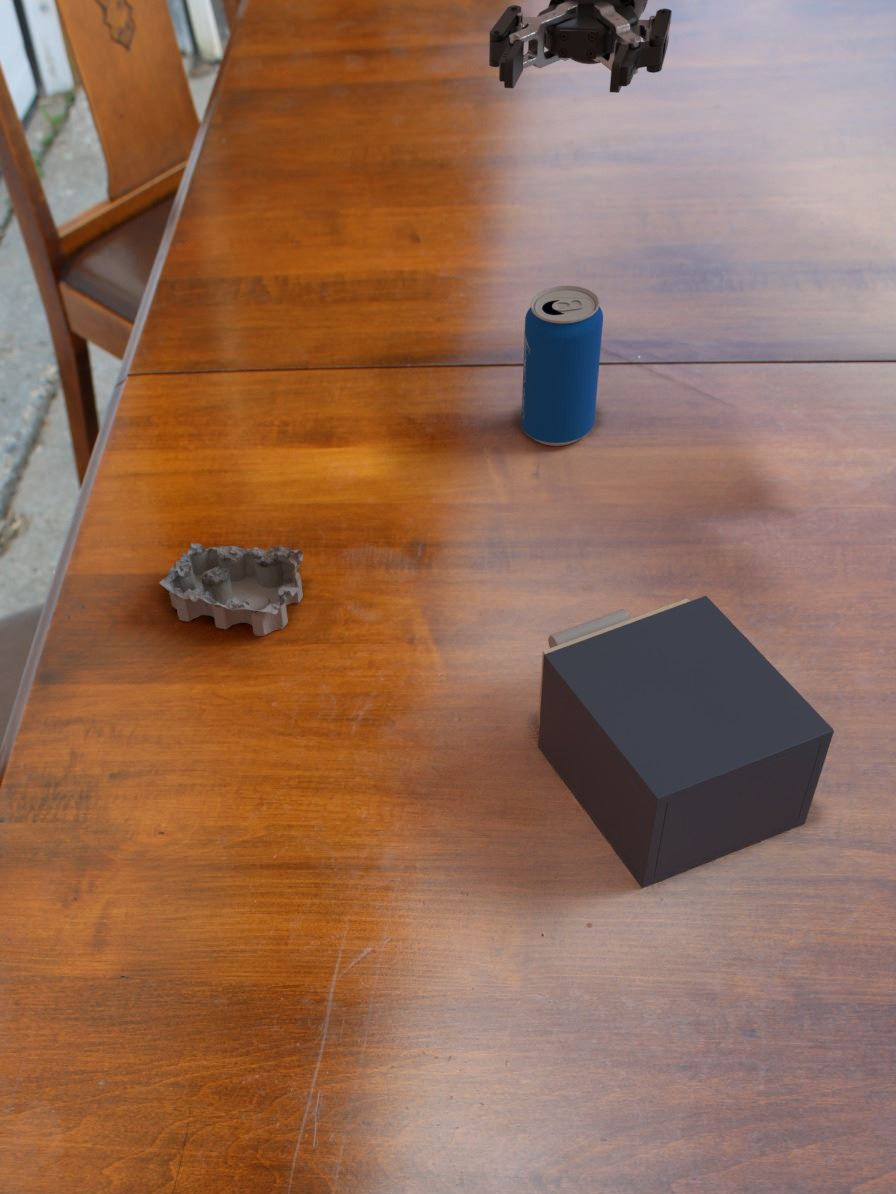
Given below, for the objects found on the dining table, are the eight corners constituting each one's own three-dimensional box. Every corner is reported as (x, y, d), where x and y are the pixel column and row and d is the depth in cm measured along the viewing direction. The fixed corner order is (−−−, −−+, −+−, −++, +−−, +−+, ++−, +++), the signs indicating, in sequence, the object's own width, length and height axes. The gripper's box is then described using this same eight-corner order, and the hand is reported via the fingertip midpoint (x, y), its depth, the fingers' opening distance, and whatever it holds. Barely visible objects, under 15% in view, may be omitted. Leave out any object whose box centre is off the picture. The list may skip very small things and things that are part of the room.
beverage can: (515, 414, 122) (519, 288, 113) (585, 404, 122) (595, 278, 112) (527, 455, 118) (533, 328, 109) (600, 445, 118) (611, 318, 109)
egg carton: (313, 588, 111) (309, 548, 107) (275, 647, 107) (269, 607, 103) (201, 562, 114) (194, 523, 111) (159, 618, 110) (151, 578, 107)
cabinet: (537, 747, 97) (543, 654, 90) (688, 690, 99) (706, 594, 92) (642, 888, 89) (657, 799, 81) (805, 823, 90) (834, 730, 83)
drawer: (512, 691, 100) (515, 617, 94) (646, 642, 101) (657, 566, 96) (633, 853, 89) (645, 780, 84) (780, 795, 91) (801, 720, 85)
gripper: (522, -57, 113) (474, 22, 105) (692, -55, 110) (657, 27, 101) (519, 41, 119) (473, 123, 111) (680, 45, 115) (646, 131, 107)
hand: (561, 77), depth 106 cm, fingers open, 8 cm apart
